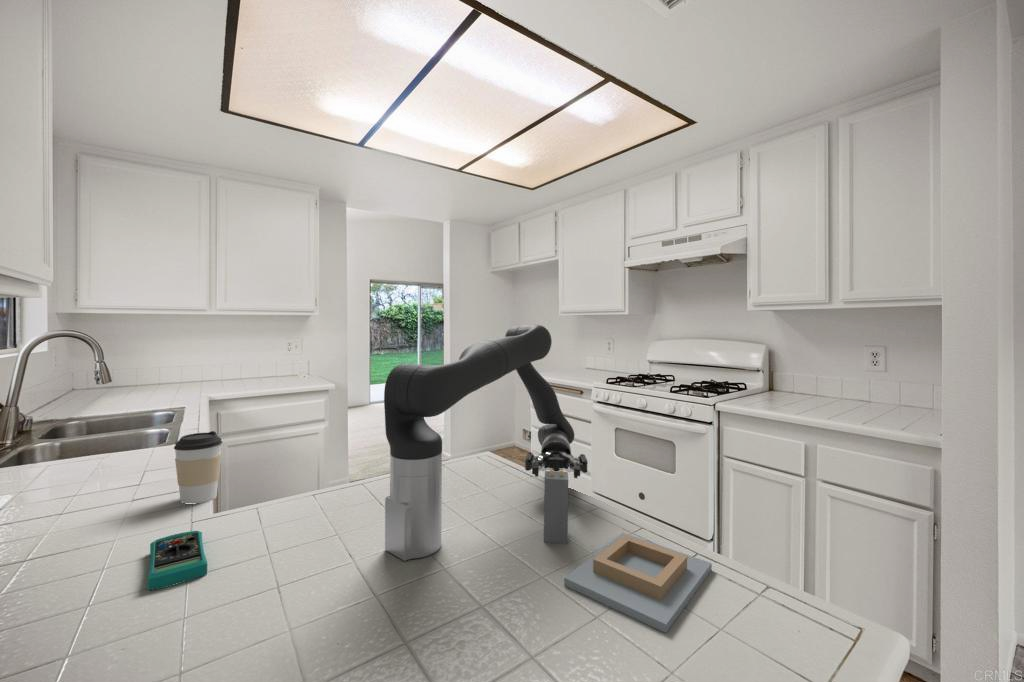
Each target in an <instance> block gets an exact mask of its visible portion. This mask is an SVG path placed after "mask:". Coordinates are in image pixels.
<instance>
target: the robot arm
mask: <svg viewBox="0 0 1024 682" xmlns="http://www.w3.org/2000/svg"><path fill="white" fill-rule="evenodd" d="M552 340H553V339H552V336H551V333H550V331H549V330H548V329H547V328H546V327H545V326H543V325H541V324H526V325H514V326H511V327H510V328H508V329H507V331H506V333H505V336H502V337H501V336H500V337H494V338H490V339H485V340H482V341H479V342H476V343H473V344H471V345H470V346H468V347H466V348H465V349H464V350H463V351H462V352H461V354H460V356H459V358H458V360H455V361H453V362H449V363H445V364H439V365H437V364H436V365H434V364H433V365H431V364H419V363H417V364H416V363H403V364H402V363H401V364H398V365H396V366H394V367H393V368H392V369H391V371H390V372H389V374H388V375H387V377H386V381H385V385H384V391H383V392H384V393H383V403H384V404H383V406H384V408H383V409H384V426H385V436H386V440H387V442H388V444H389V451H390V452H389V453H390V454H389V459H390V460H389V466H390V467H389V478H390V480H389V495H388V496H386V497H385V500H384V550H385V551H387V552H388V553H391V554H392V555H394V556H395V557H396V558H398V559H400V560H402V561H403V562H406V561H409V560H411V559H419V558H424V557H428V556H431V555H433V554H435V553H437V552H438V551H439V549H440V548H441V546H442V525H443V524H442V518H443V513H442V511H443V509H442V507H443V506H442V505H443V503H442V501H443V496H442V495H443V489H442V487H443V439H442V437H441V435H440V434H439V433H438V432H436V431H435V430H434V429H433V428H432V427H430V426H429V424H428V423H427V422H426V420H425V418H432V417H433V418H434V417H436V416H439V415H441V414H442V413H445V412H447V410H449V409H451V407H453V406H454V405H456V404H457V403H458V402H460V401H461V400H462V399H463V398H465V397H467V396H468V395H470V394H471V393H474V392H476V391H478V390H480V389H481V388H483V387H485V386H488V385H490V384H491V383H493V382H495V381H498V380H499V379H501V378H503V377H504V376H506V375H508V374H510V373H512V372H514V371H516V372H517V374H518V376H519V378H520V380H521V381H522V383H523V385H524V387H525V389H526V390H527V392H528V395H529V397H530V400H531V402H532V405H533V408H534V411H535V414H536V417H537V419H538V421H539V423H541V424H545V425H542V426H541V427H539V428H538V431H537V439H538V443H539V444H540V445H541V449H540V450H541V452H540V454H538V456H537V455H535V454H534V453H533V452H527V454H526V456H525V459H524V462H525V463H524V464H525V465H524V466H525V467H524V470H525V471H531V474H532V475H534V476H535V478H536V477H539V472H540V471H541V472H545V471H547V470H548V471H550V470H554V472H559V470H563V471H564V472H568V473H571V472H573V478H574V479H578V477H580V476H581V472H582V473H584V474H585V473H588V459H587V457H586V455H585V454H583V453H581V454H579V455H578V457H575V456H574V455H573V454H572V450H571V444H572V443H573V442H574V439H575V431H574V429H573V427H572V424H570V422H569V421H568V420H567V418H566V417H565V415H564V414H563V412H562V410H561V406H560V402H559V399H558V396H557V394H556V392H555V390H554V388H553V387H552V385H551V384H550V383H549V382H548V381H547V380H546V379H545V378H544V376H542V375H541V374H540V373H539V372H538V370H537V369H536V368H535V366H533V363H532V362H535V361H536V362H537V361H539V360H540V361H541V360H543V359H544V358H545V357H547V355H549V352H550V351H551V348H552V344H553V343H552Z"/></svg>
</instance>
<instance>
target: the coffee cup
mask: <svg viewBox="0 0 1024 682" xmlns="http://www.w3.org/2000/svg"><path fill="white" fill-rule="evenodd" d="M222 445H223V441H222V438H221V437H220V436H218V434H217V432H216V431H215V430H214V431H213V430H212V431H209V432H197V433H189V434H185V435H183V436H181V437H180V439H179V440H178V441H176V442H175V446H173V449H174V451H175V452H174V453H175V458H174V461H175V471H176V478H177V485H178V489H179V498H180V503H181V502H183V503H200V504H205V503H207V502H210V501H213V500H214V499H216V498H217V496H218V485H219V479H220V470H221V463H222V462H221V460H222V452H221V450H222ZM212 499H213V500H212Z"/></svg>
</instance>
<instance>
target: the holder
mask: <svg viewBox="0 0 1024 682" xmlns="http://www.w3.org/2000/svg"><path fill="white" fill-rule="evenodd" d="M712 570H713V569H712V562H710V561H707V560H704V559H700V558H697V557H695V556H691V555H689V554H686V553H684V552H680V551H678V550H674V549H671V548H668V547H665V546H663V545H659V544H656V543H654V542H651V541H648V540H645V539H642V538H639V537H636V536H633V535H630V534H627V533H624V532H622V533H620V534H619V535H618V536H616V538H614V539H613V540H611V541H610V542H609V543H608V544H606V545H605V546H604V547H602V548H600V549H599V551H597V552H596V553H595V554H593V555H592V556H591V557H589V558H588V559H586V560H585V561H584V562H583V563H581V564H580V565H579V566H577V567H576V568H575V569H573V570H572V571H571V572H570V573H568V574H567V575H566V576H565V577H564V578H563V580H564V581H563V584H564V585H563V586H565V587H567V588H569V589H571V590H574V591H575V592H577V593H578V594H579V593H580V594H582V595H584V596H586V597H588V598H590V599H592V600H594V601H597V602H599V603H601V604H603V605H605V606H607V607H609V608H612V609H614V610H616V611H618V612H620V613H622V614H624V615H626V616H629V617H630V618H632V619H635V620H637V621H638V622H642V623H644V624H645V625H648V626H649V627H652V628H654V629H656V630H659V631H660V632H662V633H665V634H667V633H668V631H669V629H671V627H672V626H673V624H674V623H675V621H676V620H677V618H679V616H680V615H681V614H682V612H683V610H684V609H685V607H686V606H687V605H688V604H689V602H690V601H691V599H692V598H693V597H694V595H695V594H696V592H697V591H698V589H699V588H700V587H701V585H702V584H703V583H704V581H705V579H706V578H707V577H708V576H709V574H711V572H712Z"/></svg>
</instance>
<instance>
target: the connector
mask: <svg viewBox="0 0 1024 682" xmlns="http://www.w3.org/2000/svg"><path fill="white" fill-rule="evenodd" d="M543 495H544V496H543V497H544V501H543V504H544V505H543V509H544V510H543V543H550V544H551V543H553V544H568V533H569V531H568V528H569V527H568V524H569V522H568V521H569V520H568V519H569V517H568V516H569V472H567V471H564V470H559V471H554V470H548V471H547V470H545V471H544V493H543Z"/></svg>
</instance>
